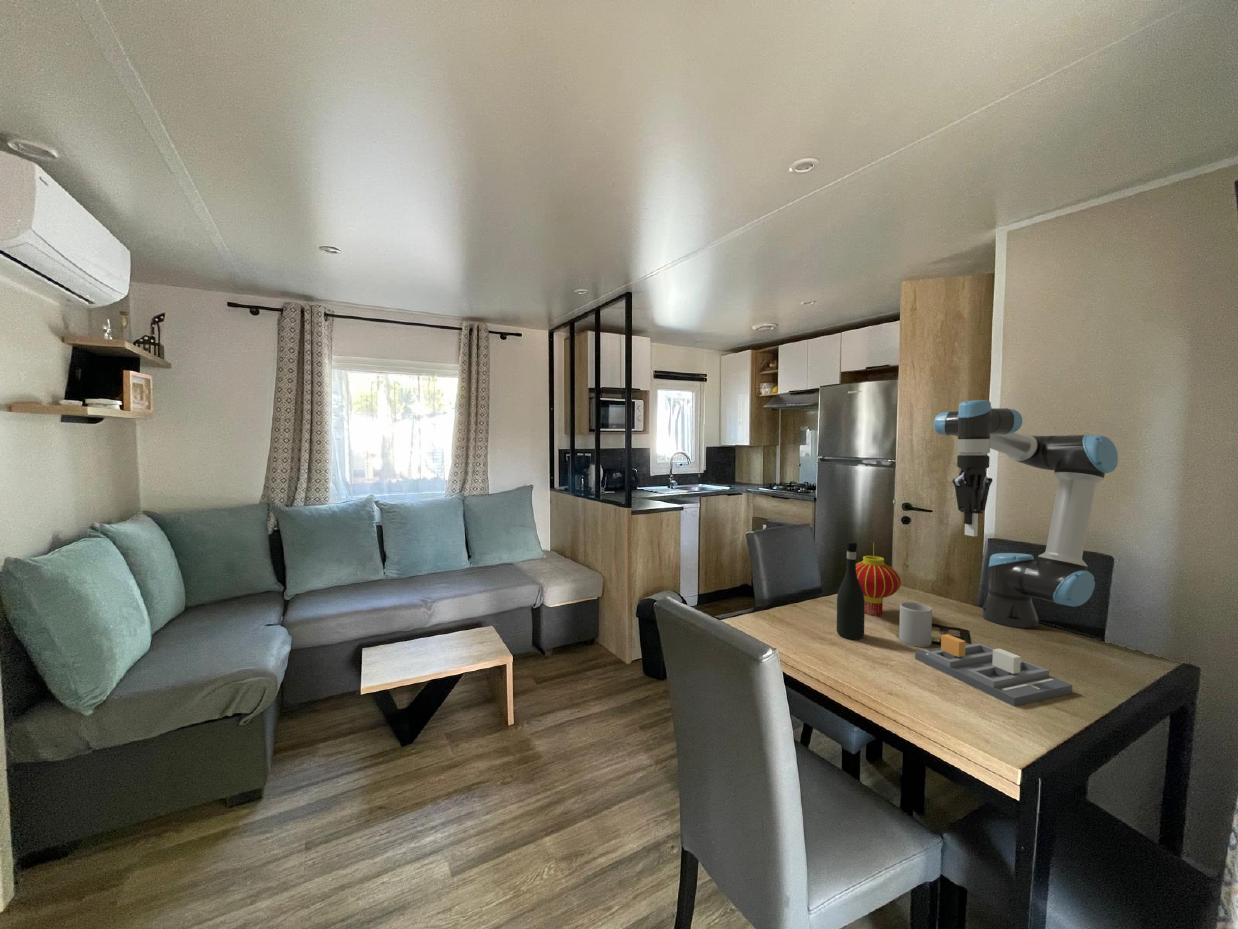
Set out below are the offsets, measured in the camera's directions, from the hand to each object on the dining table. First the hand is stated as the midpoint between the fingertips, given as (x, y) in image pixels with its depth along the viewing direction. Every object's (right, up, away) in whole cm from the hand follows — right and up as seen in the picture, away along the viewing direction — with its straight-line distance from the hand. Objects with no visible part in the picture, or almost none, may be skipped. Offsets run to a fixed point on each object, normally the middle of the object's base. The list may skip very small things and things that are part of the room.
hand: (970, 535), depth 139 cm
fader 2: (-4, -33, -18) cm, 38 cm away
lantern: (-11, -33, +34) cm, 49 cm away
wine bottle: (-29, -34, +14) cm, 47 cm away
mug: (-10, -34, +10) cm, 37 cm away
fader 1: (-11, -33, -8) cm, 36 cm away
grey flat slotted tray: (-5, -35, -13) cm, 38 cm away
